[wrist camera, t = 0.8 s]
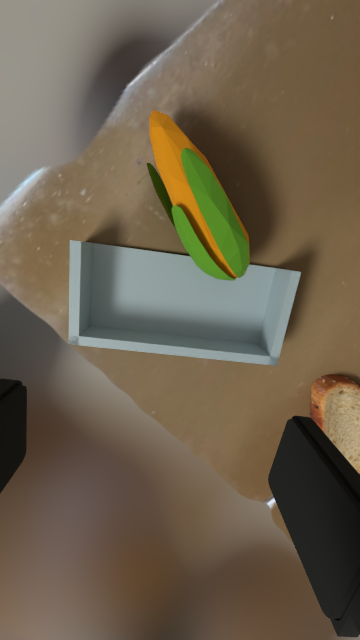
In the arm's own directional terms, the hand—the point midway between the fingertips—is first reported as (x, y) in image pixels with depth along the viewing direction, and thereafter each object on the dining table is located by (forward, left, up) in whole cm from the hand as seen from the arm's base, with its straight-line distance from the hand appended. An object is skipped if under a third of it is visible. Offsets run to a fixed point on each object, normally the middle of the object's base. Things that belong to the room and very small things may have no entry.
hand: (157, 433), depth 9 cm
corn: (-2, -12, -27) cm, 29 cm away
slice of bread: (-32, +19, -27) cm, 46 cm away
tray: (-2, 0, -27) cm, 27 cm away
